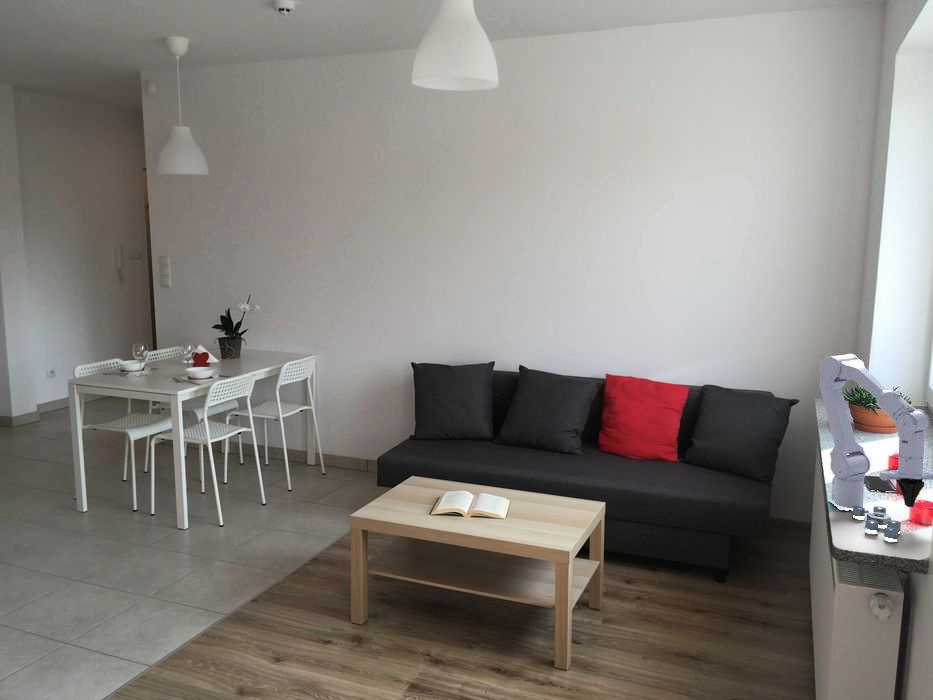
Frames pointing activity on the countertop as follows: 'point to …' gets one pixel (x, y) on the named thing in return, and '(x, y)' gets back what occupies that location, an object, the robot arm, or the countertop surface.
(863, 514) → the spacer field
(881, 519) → the hex nut
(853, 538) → the countertop surface
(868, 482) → the phone
